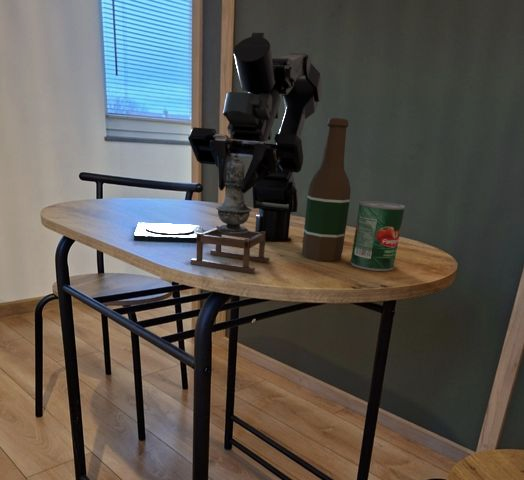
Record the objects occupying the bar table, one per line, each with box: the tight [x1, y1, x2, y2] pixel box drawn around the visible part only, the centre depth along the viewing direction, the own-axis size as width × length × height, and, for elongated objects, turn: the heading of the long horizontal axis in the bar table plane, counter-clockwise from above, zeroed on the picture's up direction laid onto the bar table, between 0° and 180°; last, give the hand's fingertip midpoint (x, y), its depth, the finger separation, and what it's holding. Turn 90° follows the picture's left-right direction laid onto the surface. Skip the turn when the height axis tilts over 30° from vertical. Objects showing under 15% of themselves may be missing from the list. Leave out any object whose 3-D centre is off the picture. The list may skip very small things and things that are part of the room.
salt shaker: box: [215, 153, 252, 234], centre depth 77 cm, size 6×6×12 cm
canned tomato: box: [349, 200, 406, 272], centre depth 85 cm, size 8×8×11 cm
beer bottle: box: [301, 117, 351, 262], centre depth 86 cm, size 8×8×24 cm
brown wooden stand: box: [190, 225, 270, 274], centre depth 80 cm, size 9×11×5 cm
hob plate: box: [133, 222, 204, 244], centre depth 100 cm, size 14×14×1 cm
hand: (231, 189), depth 75 cm, fingers closed on salt shaker, 3 cm apart
